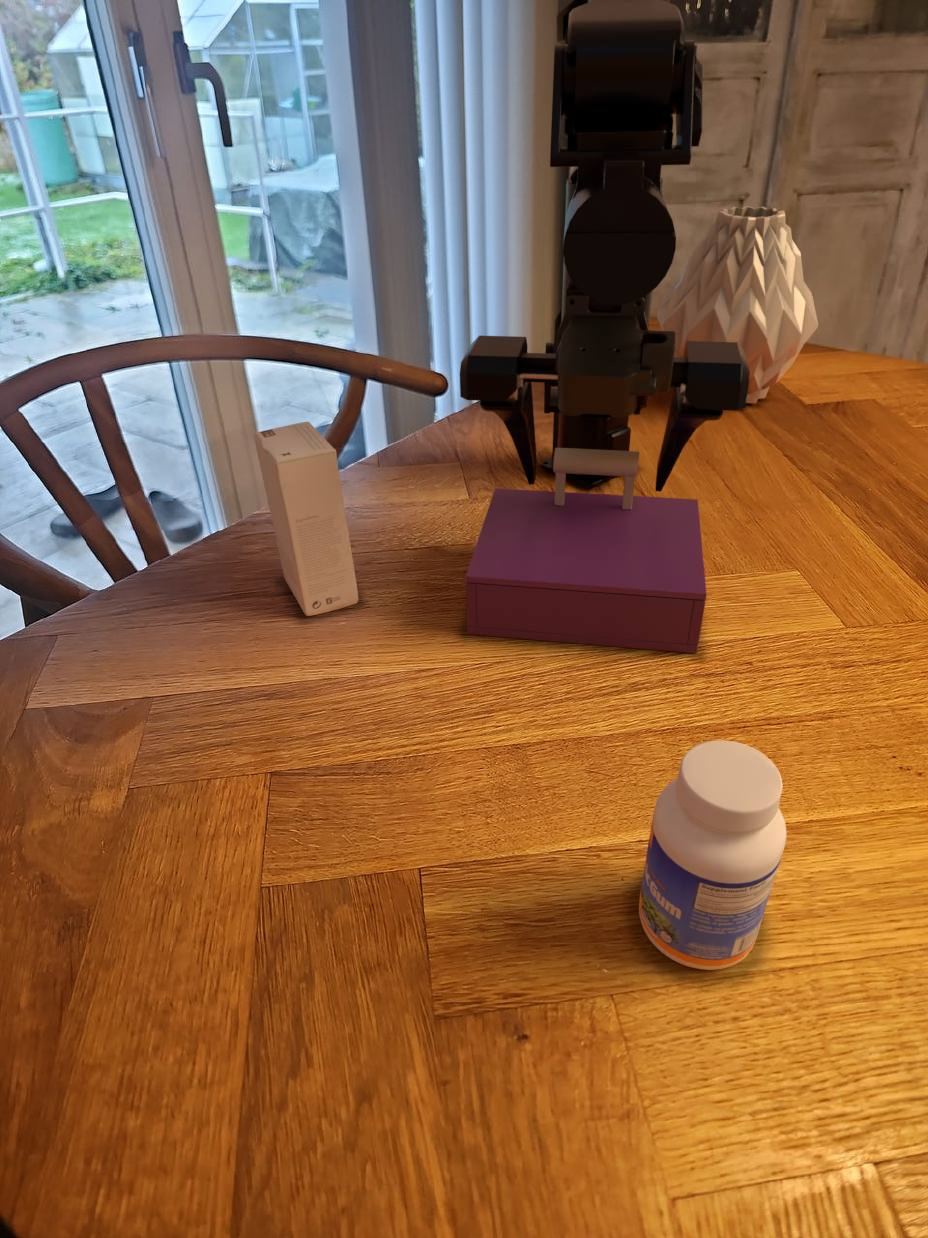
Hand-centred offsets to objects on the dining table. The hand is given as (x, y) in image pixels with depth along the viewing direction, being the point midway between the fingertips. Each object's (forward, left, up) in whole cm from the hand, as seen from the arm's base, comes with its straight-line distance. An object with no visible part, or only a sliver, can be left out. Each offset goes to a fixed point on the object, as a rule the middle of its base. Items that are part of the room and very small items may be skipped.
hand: (594, 485), depth 62 cm
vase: (-13, +37, -6) cm, 40 cm away
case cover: (+3, -4, -2) cm, 5 cm away
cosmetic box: (-11, -18, -6) cm, 22 cm away
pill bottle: (+25, -21, -6) cm, 33 cm away
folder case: (+3, -4, -6) cm, 8 cm away
